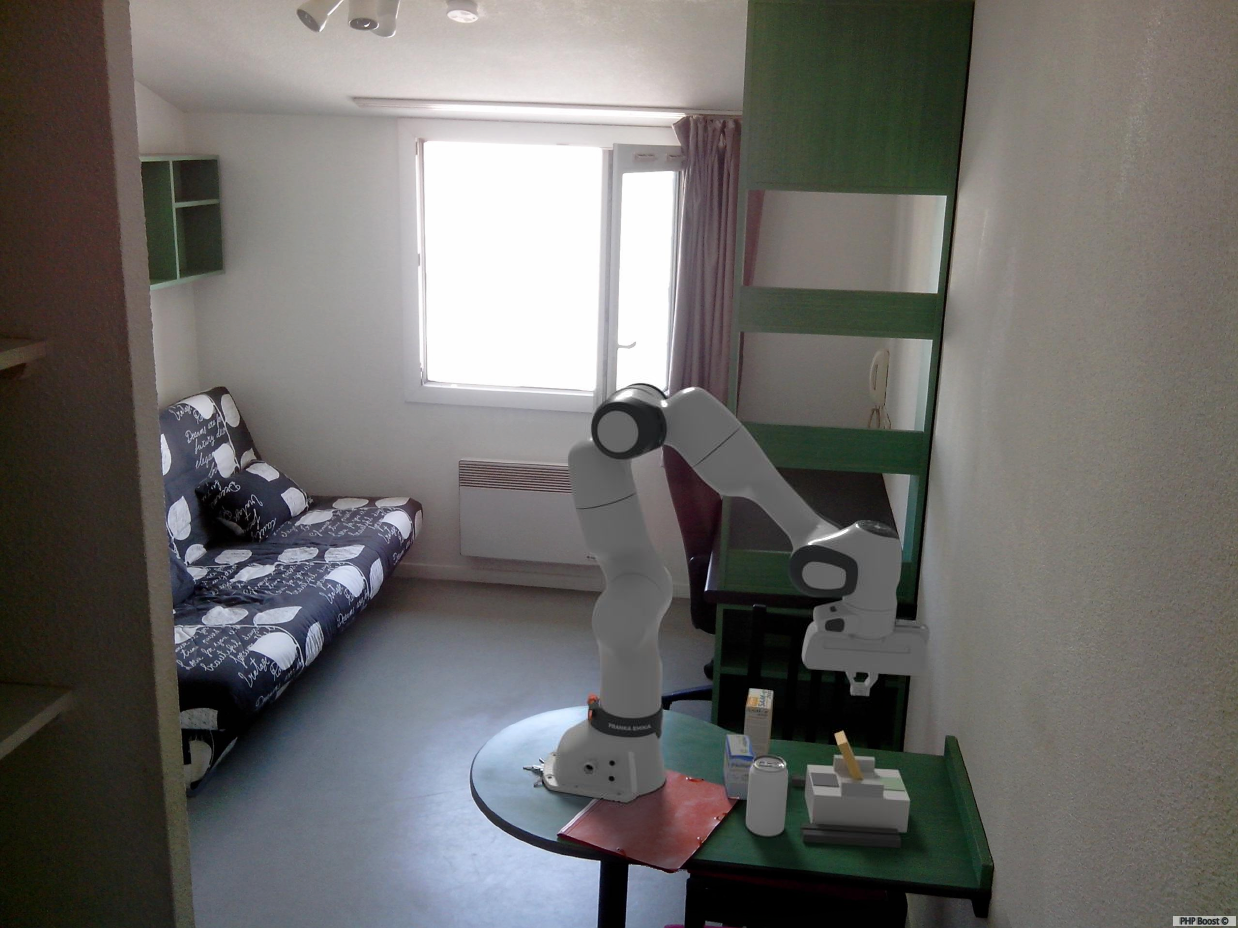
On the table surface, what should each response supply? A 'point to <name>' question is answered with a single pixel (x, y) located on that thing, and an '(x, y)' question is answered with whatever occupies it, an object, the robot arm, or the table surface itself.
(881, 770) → the white slotted housing
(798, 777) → the dark grey long bar
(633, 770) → the robot arm
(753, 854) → the table surface
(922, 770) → the table surface
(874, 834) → the dark grey flat bar
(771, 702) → the supplement box
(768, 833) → the can
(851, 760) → the lever
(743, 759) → the medicine box
